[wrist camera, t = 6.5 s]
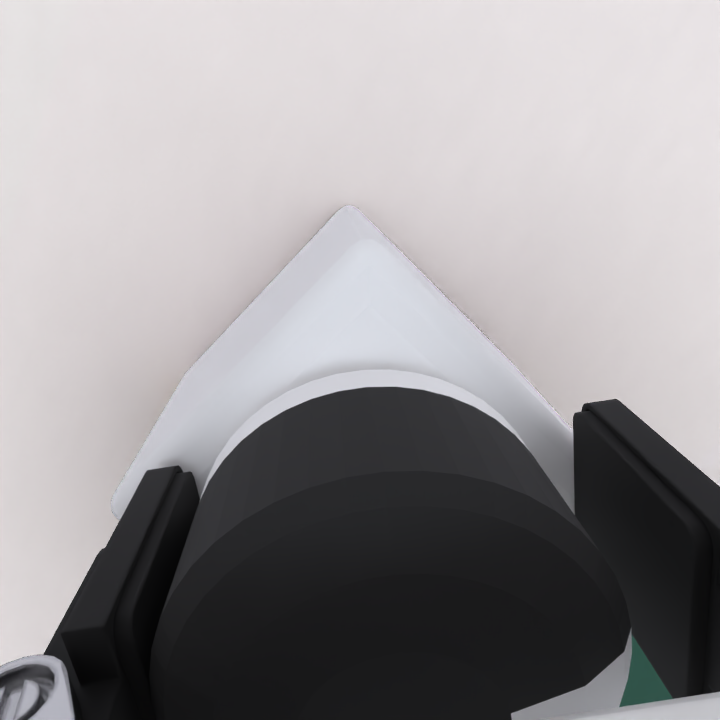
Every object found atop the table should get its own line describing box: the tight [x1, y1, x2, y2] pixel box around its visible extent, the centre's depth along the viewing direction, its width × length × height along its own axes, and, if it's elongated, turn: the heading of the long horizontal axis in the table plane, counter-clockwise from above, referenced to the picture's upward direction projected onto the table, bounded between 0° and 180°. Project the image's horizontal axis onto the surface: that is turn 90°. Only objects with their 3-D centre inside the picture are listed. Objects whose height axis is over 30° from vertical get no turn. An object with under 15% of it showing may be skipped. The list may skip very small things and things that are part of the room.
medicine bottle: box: [111, 206, 632, 720], centre depth 13 cm, size 7×7×12 cm
